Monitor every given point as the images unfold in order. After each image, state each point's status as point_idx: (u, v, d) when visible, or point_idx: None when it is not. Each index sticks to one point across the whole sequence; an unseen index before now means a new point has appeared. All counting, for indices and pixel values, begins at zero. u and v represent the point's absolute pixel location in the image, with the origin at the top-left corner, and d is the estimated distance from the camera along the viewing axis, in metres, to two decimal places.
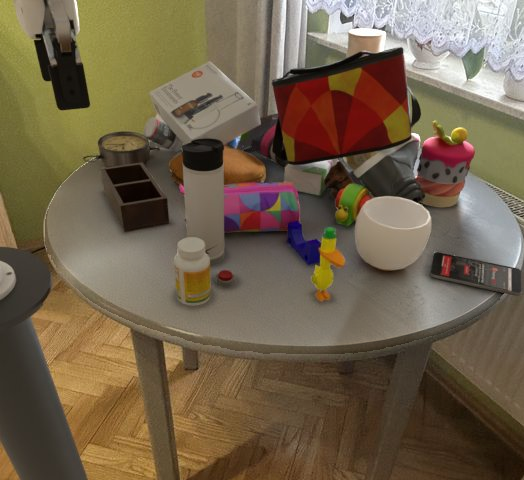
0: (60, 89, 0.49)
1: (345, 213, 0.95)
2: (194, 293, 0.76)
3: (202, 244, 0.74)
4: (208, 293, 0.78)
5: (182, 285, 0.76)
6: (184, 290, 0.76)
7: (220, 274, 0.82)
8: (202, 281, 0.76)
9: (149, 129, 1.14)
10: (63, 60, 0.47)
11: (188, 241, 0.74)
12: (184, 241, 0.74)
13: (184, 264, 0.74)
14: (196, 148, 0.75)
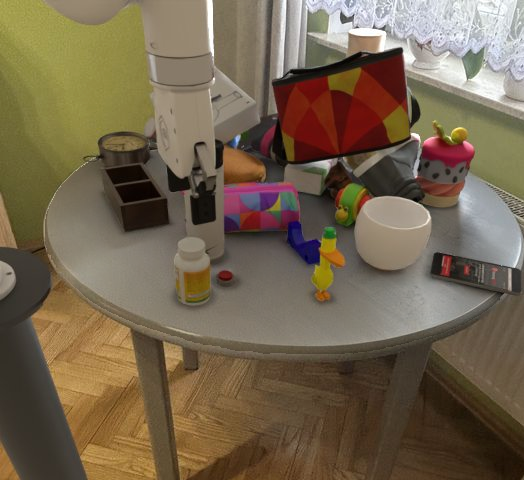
0: (197, 211, 0.64)
1: (345, 213, 0.95)
2: (194, 293, 0.76)
3: (202, 244, 0.74)
4: (208, 293, 0.78)
5: (182, 285, 0.76)
6: (184, 290, 0.76)
7: (220, 274, 0.82)
8: (202, 281, 0.76)
9: (149, 129, 1.14)
10: (204, 194, 0.62)
11: (188, 241, 0.74)
12: (184, 241, 0.74)
13: (184, 264, 0.74)
14: None
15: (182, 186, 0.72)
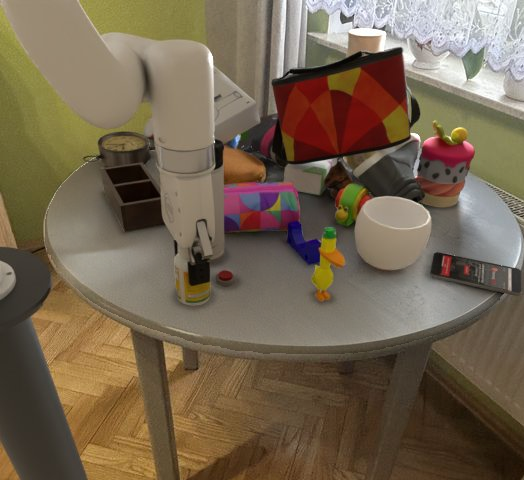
0: (193, 274, 0.73)
1: (345, 213, 0.95)
2: (194, 293, 0.76)
3: None
4: (208, 293, 0.78)
5: (182, 285, 0.76)
6: (184, 290, 0.76)
7: (220, 274, 0.82)
8: None
9: (149, 129, 1.14)
10: (200, 262, 0.70)
11: None
12: None
13: (184, 264, 0.74)
14: None
15: None
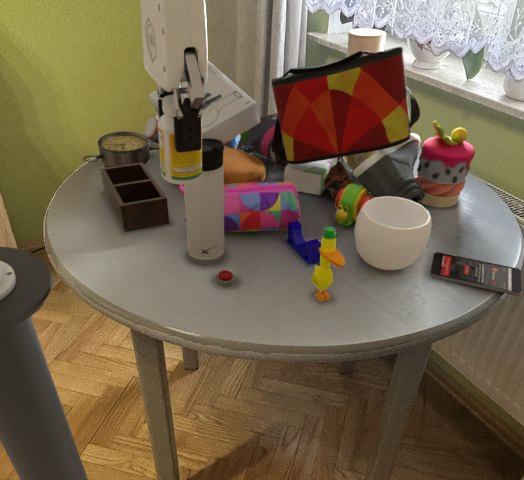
0: (180, 136, 0.60)
1: (345, 213, 0.95)
2: (181, 165, 0.63)
3: None
4: (199, 170, 0.65)
5: (167, 154, 0.62)
6: (170, 161, 0.63)
7: (220, 274, 0.82)
8: None
9: (149, 129, 1.14)
10: (189, 114, 0.57)
11: None
12: (170, 97, 0.61)
13: (170, 124, 0.60)
14: None
15: None
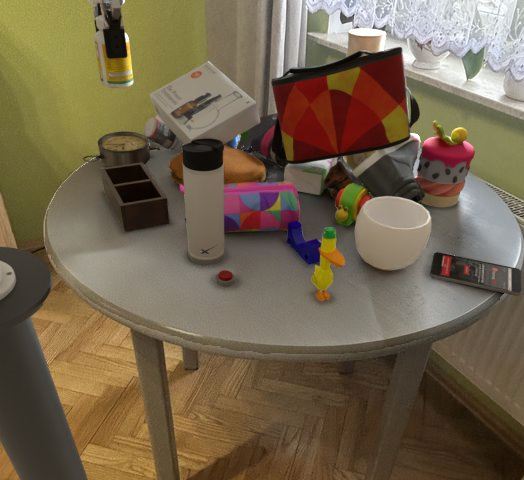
0: (109, 44, 0.78)
1: (345, 213, 0.95)
2: (114, 71, 0.82)
3: None
4: (129, 76, 0.84)
5: (102, 62, 0.81)
6: (105, 68, 0.81)
7: (220, 274, 0.82)
8: (121, 58, 0.81)
9: (149, 129, 1.14)
10: (113, 25, 0.76)
11: None
12: None
13: (102, 36, 0.79)
14: (196, 148, 0.75)
15: None
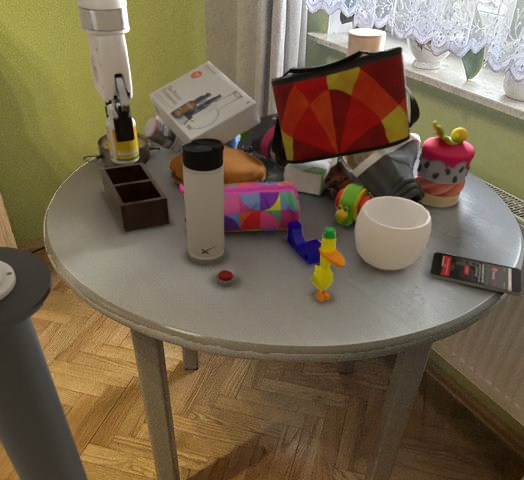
0: (119, 130, 0.90)
1: (345, 213, 0.95)
2: (122, 151, 0.93)
3: None
4: (136, 154, 0.95)
5: (112, 143, 0.92)
6: (115, 148, 0.93)
7: (220, 274, 0.82)
8: None
9: (149, 129, 1.14)
10: (122, 116, 0.87)
11: (116, 104, 0.90)
12: None
13: (112, 122, 0.90)
14: (196, 148, 0.75)
15: None
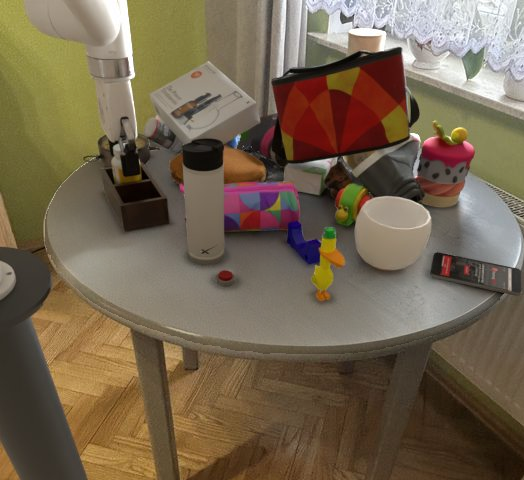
0: (125, 166, 0.92)
1: (345, 213, 0.95)
2: None
3: None
4: None
5: (118, 181, 0.97)
6: None
7: (220, 274, 0.82)
8: (134, 178, 0.97)
9: (149, 129, 1.14)
10: (129, 153, 0.90)
11: None
12: (118, 145, 0.95)
13: (118, 162, 0.95)
14: (196, 148, 0.75)
15: None
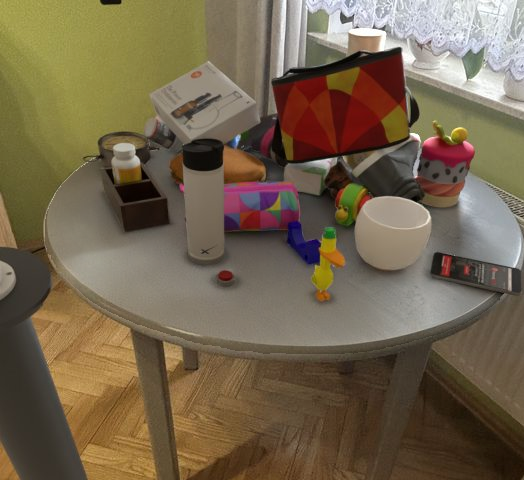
0: None
1: (345, 213, 0.95)
2: None
3: (132, 147, 0.95)
4: None
5: (118, 181, 0.97)
6: None
7: (220, 274, 0.82)
8: (134, 178, 0.97)
9: (149, 129, 1.14)
10: None
11: (122, 145, 0.95)
12: (118, 145, 0.95)
13: (118, 162, 0.95)
14: (196, 148, 0.75)
15: None
